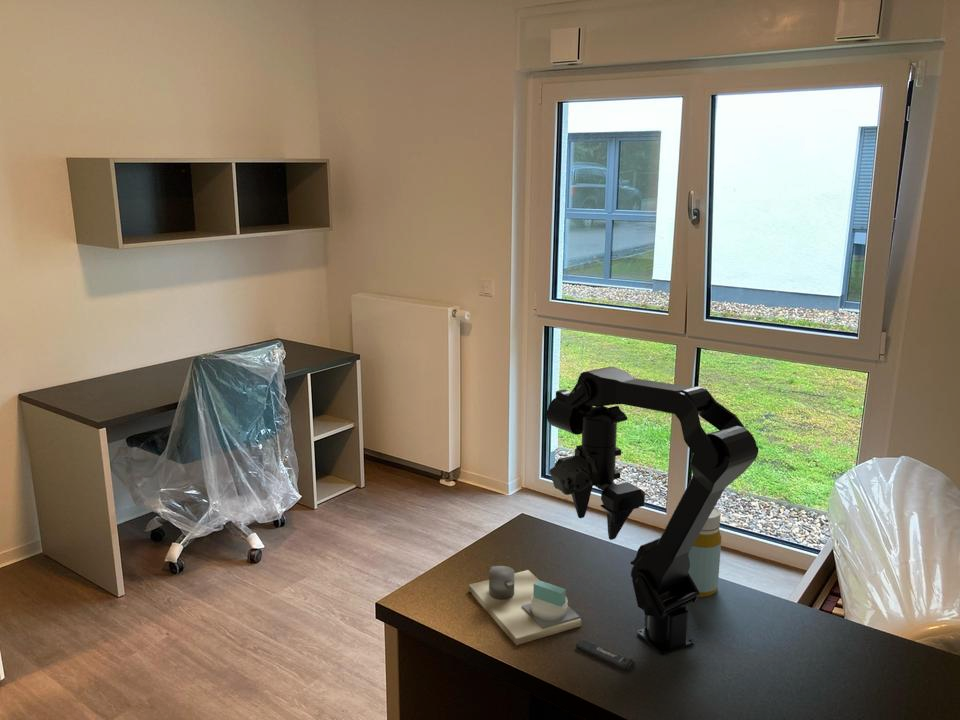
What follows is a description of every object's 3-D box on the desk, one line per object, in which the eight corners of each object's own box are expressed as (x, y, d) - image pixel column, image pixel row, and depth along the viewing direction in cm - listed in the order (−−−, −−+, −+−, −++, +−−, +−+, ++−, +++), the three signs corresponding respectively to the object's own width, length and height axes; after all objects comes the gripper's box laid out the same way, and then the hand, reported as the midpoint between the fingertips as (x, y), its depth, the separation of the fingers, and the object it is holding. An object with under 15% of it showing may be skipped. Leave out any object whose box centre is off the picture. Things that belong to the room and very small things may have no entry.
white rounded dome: (556, 624, 124) (556, 600, 123) (524, 613, 128) (524, 589, 127) (573, 607, 129) (574, 584, 128) (542, 597, 132) (543, 573, 131)
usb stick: (573, 651, 121) (574, 642, 120) (583, 643, 123) (583, 634, 122) (627, 675, 115) (627, 666, 114) (635, 667, 117) (636, 658, 116)
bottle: (713, 579, 141) (718, 503, 137) (720, 599, 134) (727, 520, 130) (674, 577, 141) (678, 501, 138) (680, 597, 135) (684, 518, 131)
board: (580, 626, 126) (581, 597, 125) (516, 645, 122) (516, 615, 120) (528, 575, 142) (528, 550, 141) (468, 590, 137) (468, 564, 136)
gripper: (528, 433, 133) (528, 516, 137) (590, 469, 117) (587, 562, 121) (583, 423, 138) (581, 504, 142) (649, 456, 122) (644, 547, 125)
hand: (596, 528), depth 132 cm, fingers open, 9 cm apart
